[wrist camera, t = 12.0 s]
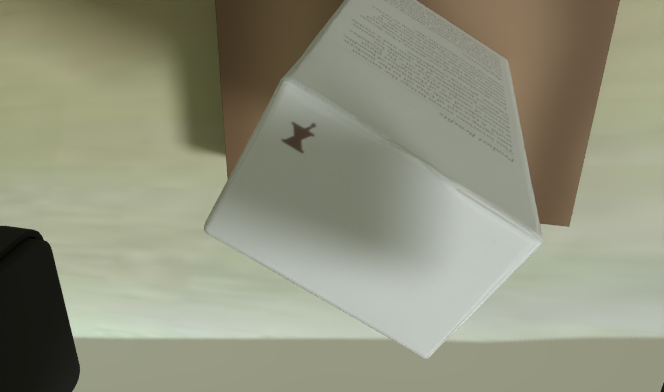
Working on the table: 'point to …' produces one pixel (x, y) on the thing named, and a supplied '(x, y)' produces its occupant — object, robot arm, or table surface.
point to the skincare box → (388, 174)
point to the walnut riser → (479, 22)
